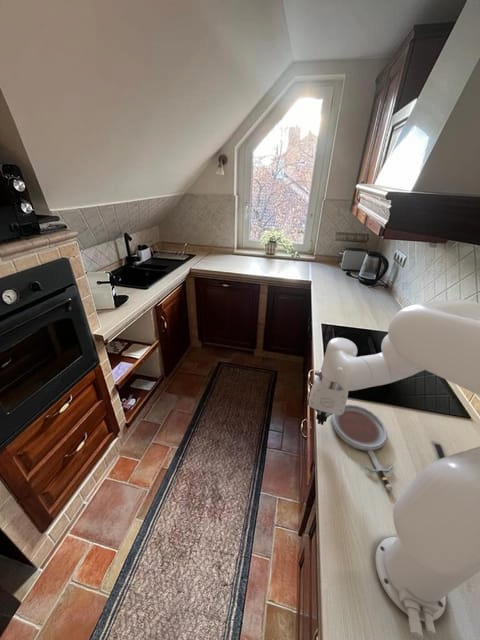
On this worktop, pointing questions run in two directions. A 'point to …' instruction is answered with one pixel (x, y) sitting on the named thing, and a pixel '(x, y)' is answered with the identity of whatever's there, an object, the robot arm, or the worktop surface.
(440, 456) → the strip
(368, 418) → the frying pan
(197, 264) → the worktop surface
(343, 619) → the worktop surface
